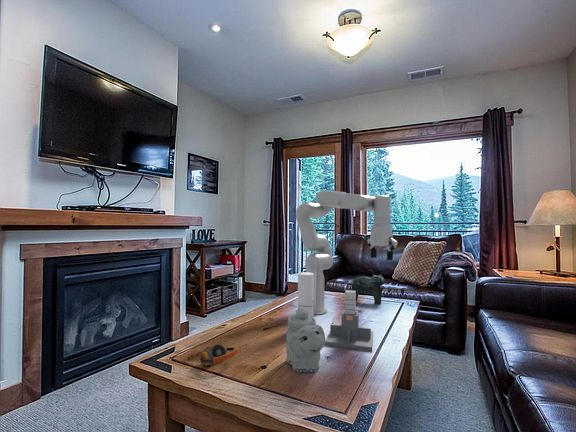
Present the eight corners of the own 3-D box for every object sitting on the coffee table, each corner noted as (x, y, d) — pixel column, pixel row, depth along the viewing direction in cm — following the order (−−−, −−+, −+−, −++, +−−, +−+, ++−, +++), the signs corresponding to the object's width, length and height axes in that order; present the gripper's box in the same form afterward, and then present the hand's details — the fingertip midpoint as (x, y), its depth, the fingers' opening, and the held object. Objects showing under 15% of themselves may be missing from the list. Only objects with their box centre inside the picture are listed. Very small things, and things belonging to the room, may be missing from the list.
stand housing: (324, 345, 121) (325, 317, 122) (331, 330, 139) (331, 305, 139) (372, 351, 116) (372, 322, 117) (373, 334, 133) (373, 309, 134)
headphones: (208, 339, 119) (247, 338, 109) (210, 353, 119) (249, 353, 108) (171, 355, 105) (212, 355, 95) (173, 371, 104) (214, 373, 94)
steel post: (344, 336, 126) (344, 292, 127) (345, 332, 130) (346, 290, 130) (354, 337, 125) (355, 292, 125) (355, 333, 129) (355, 290, 129)
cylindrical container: (315, 327, 143) (315, 273, 143) (309, 331, 136) (310, 275, 137) (301, 324, 146) (301, 271, 146) (295, 329, 139) (295, 274, 140)
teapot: (319, 383, 92) (319, 320, 93) (273, 374, 98) (274, 314, 98) (332, 361, 108) (332, 307, 108) (291, 354, 113) (292, 302, 114)
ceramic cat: (384, 303, 187) (384, 270, 187) (381, 305, 181) (381, 271, 182) (353, 299, 198) (353, 267, 198) (349, 301, 192) (349, 268, 192)
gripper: (362, 221, 149) (362, 257, 149) (391, 222, 134) (390, 261, 134) (373, 221, 153) (373, 256, 153) (402, 222, 138) (402, 260, 138)
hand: (381, 258), depth 143 cm, fingers open, 9 cm apart
